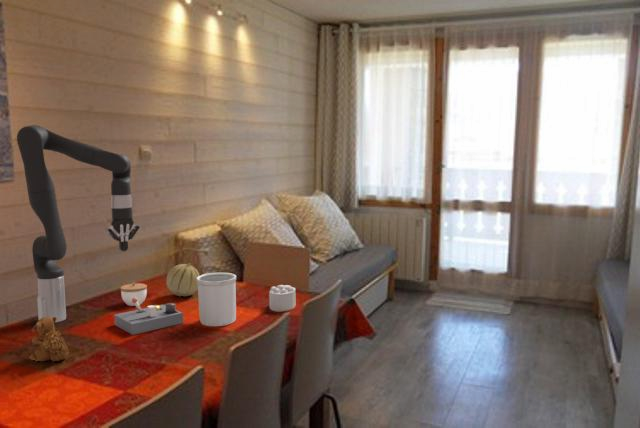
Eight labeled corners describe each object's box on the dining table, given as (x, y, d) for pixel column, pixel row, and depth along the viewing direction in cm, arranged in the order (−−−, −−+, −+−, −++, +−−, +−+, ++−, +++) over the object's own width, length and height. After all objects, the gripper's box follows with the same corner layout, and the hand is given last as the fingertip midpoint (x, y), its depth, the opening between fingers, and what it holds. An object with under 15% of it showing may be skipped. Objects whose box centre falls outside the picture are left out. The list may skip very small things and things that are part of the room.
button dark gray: (168, 313, 210) (168, 305, 209) (164, 311, 212) (163, 304, 212) (177, 311, 212) (176, 304, 212) (172, 309, 215) (172, 302, 214)
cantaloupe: (164, 294, 255) (163, 262, 253) (196, 290, 261) (195, 259, 260) (170, 301, 242) (169, 268, 240) (203, 297, 248) (202, 264, 246)
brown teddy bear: (57, 349, 185) (54, 310, 183) (79, 358, 176) (76, 318, 175) (26, 358, 177) (23, 318, 175) (47, 368, 168) (44, 326, 167)
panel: (132, 335, 198) (132, 323, 198) (114, 324, 210) (114, 314, 210) (183, 323, 212) (182, 312, 211) (163, 314, 223) (163, 304, 223)
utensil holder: (229, 328, 205) (228, 281, 203) (191, 326, 208) (190, 280, 206) (242, 316, 220) (241, 273, 218) (207, 314, 223) (206, 271, 221)
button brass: (152, 315, 214) (152, 308, 214) (148, 313, 217) (148, 306, 216) (161, 313, 216) (161, 306, 216) (157, 311, 219) (157, 304, 219)
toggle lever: (139, 313, 212) (132, 300, 209) (137, 312, 213) (130, 299, 211) (143, 309, 213) (136, 297, 210) (141, 308, 214) (134, 296, 212)
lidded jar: (142, 307, 234) (141, 285, 233) (117, 307, 234) (116, 285, 233) (150, 300, 244) (150, 279, 243) (126, 300, 244) (125, 279, 243)
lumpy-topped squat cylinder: (297, 303, 238) (297, 283, 237) (290, 312, 225) (290, 291, 224) (274, 302, 240) (273, 282, 239) (265, 310, 227) (265, 290, 226)
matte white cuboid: (151, 317, 205) (150, 307, 205) (147, 315, 207) (147, 306, 207) (156, 315, 207) (155, 306, 206) (152, 314, 209) (152, 305, 208)
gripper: (108, 208, 206) (110, 254, 208) (142, 205, 215) (144, 250, 217) (100, 207, 212) (103, 251, 214) (134, 204, 221) (136, 247, 222)
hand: (123, 250), depth 215 cm, fingers closed
